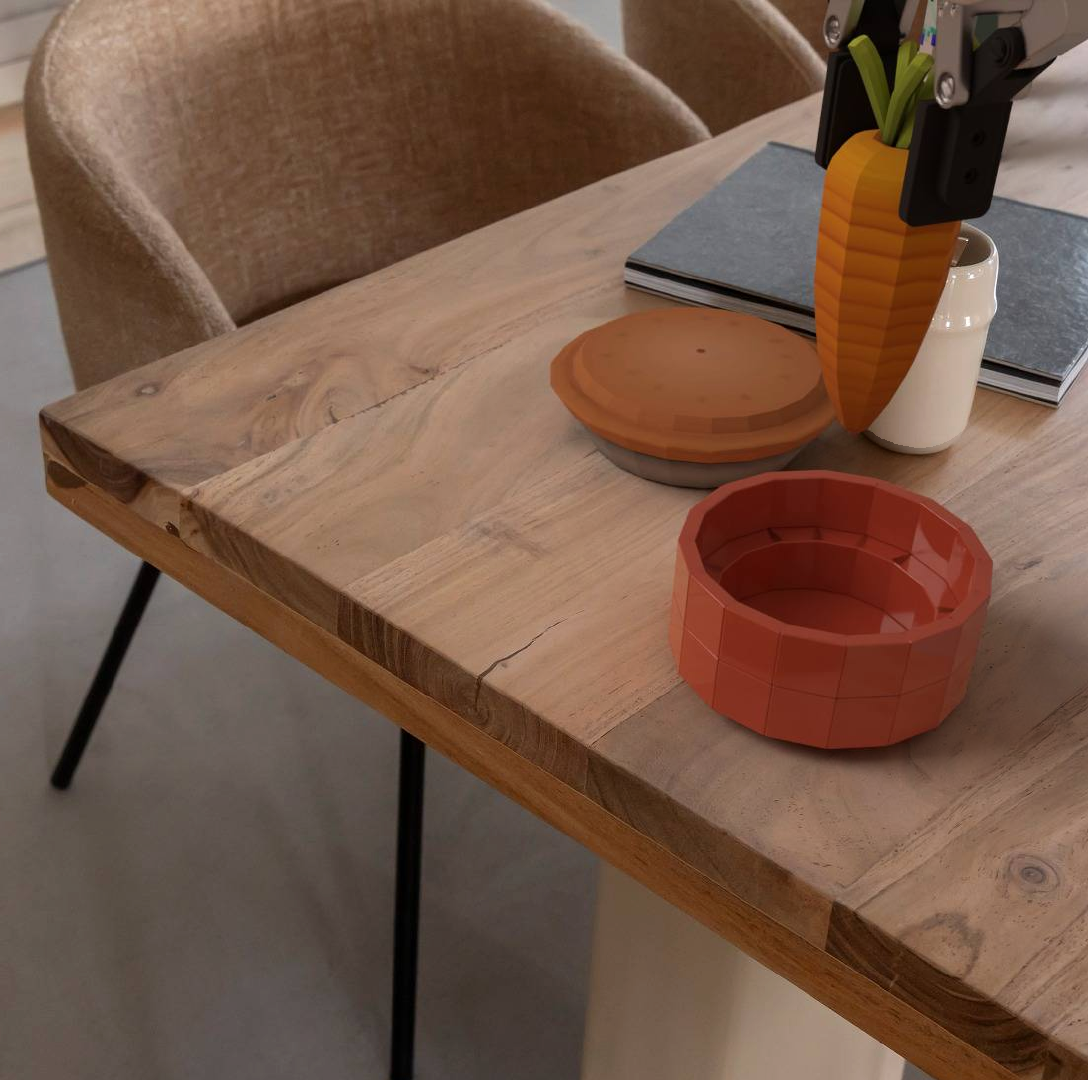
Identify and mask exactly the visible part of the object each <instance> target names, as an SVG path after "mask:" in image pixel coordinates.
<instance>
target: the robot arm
mask: <svg viewBox="0 0 1088 1080" xmlns="http://www.w3.org/2000/svg"><path fill="white" fill-rule="evenodd" d="M920 1H921V0H827V4H828V6H827V10H826V13H825V17H824V20H823V27H822V35H823V40H824V43H825V45H826V47H827V48H829V49H830V50H831V49H832V50H834V49H838V50H836V51H829V52H828V58H827V65H826V74H825V79H824V86H823V87H824V88H823V94H822V101H821V102H822V103H821V108H820V116H819V121H818V122H819V123H818V128H817V129H818V132H817V137H816V144H815V150H814V151H815V152H814V162H815V164H816V165H817V166H819V167H821V169H823V170H824V171H827V168H828V166H829V164H830V161H831V159H832V157H833V156H834V155H835V154H836V152H837V151H838V150H839V149H840V148H841V147H842V146H843V144H844V143H845V142H846V141H847V140H848V139H850V138H851V137H852V136H854V135H855V134H857V133H860V132H863V131H868V130H876V129H879V126H878V123H877V120H876V117H875V114H874V111H873V108H872V105H871V102H870V99H869V97H868V94H867V91H866V88H865V85H864V82H863V79H862V76H861V74H860V71H859V68H858V66H857V64H856V62H855V60H854V58H853V56H852V54H851V52H850V50H849V48H848V45H849V44H850V43H851V42H852V41H853V40H854V39H856V38H857V37H859V36H862V35H866V36H868V37H869V39H870V40H871V42H872V43H873V44H874V46H875V48H876V50H877V52H878V54H879V56H880V58H881V61H882V63H883V68H884V72H885V76H886V81H887V85H888V90H889V94H890V99H891V96H892V93H893V92H894V88H895V78H896V69H897V59H898V52H899V47H900V46H901V45H902V44H900V43H902V42H903V41H906V39H907V38H908V36H909V34H910V32H911V29H912V26H913V22H914V20H915V16H916V14H917V10H918V6H919V4H920ZM993 14H998V16H997V30H996V31H995V32H993V33H992V34H991V35H990V36H989V37H988V38H987V39H986V40H985V41H984V42H983V43H982V44H981V45H980V46H979V47H978V48H977V49H976V50H975V51H974V52H973V48H974V27H975V16H983V15H993ZM1086 41H1088V0H937V17H936V43H935V69H934V96H935V98H933V99H924V100H918V106H917V110H916V114H915V120H914V125H913V131H912V136H911V142H910V148H909V153H908V159H907V164H906V170H905V176H904V181H903V187H902V192H901V198H900V204H899V218H900V219H901V220H902V221H903V222H905V223H906V224H908V225H909V226H911V227H919V226H926V225H933V224H940V223H947V222H954V221H961V220H962V221H968V220H974V219H979V218H982V217H984V216H985V215H986V214H987V213H988V212H989V210H990V208H991V206H992V201H993V197H994V192H995V187H996V184H997V178H998V174H999V170H1000V164H1001V159H1002V155H1003V151H1004V146H1005V141H1006V137H1007V132H1008V127H1009V123H1010V119H1011V113H1012V109H1013V105H1014V101H1020V100H1021V101H1022V100H1024V99H1025V98H1026V97H1028V95H1029V94H1030V91H1031V89H1032V86H1033V81H1034V80H1035V79H1036V78H1037V77H1039V76H1040V75H1041V74H1042V73H1043V72H1045V71H1046V70H1047V69H1048V68H1049V67H1050V66H1052V65H1053V63H1055V61H1056V60H1057V58H1058V57H1059V56H1062V55H1063V56H1064V54H1066V53H1068V52H1070V51H1071V50H1072V49H1074V48H1076V47H1078V46H1080V45H1081V44H1082V43H1084V42H1086ZM918 53H919V47H918V46H917V54H918Z"/></svg>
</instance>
